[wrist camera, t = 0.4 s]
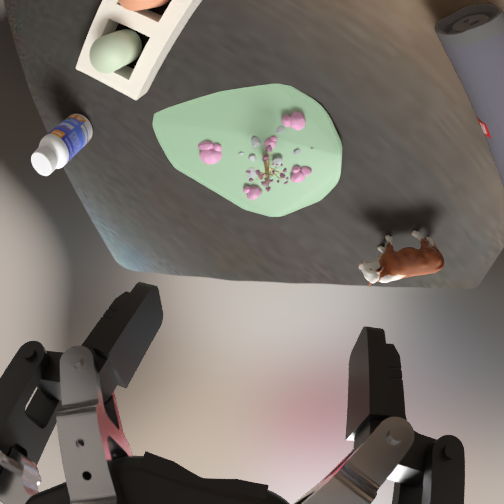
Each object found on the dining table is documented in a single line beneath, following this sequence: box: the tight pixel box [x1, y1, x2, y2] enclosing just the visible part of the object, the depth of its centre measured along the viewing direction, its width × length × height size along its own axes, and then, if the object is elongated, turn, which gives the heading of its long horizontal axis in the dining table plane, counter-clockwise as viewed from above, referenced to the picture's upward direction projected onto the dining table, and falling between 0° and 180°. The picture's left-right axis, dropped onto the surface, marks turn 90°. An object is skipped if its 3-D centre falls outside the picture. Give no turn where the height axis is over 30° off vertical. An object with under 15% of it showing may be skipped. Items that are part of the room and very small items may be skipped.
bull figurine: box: [359, 230, 444, 287], centre depth 41 cm, size 4×13×8 cm, turn 106°
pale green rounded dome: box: [89, 29, 142, 74], centre depth 25 cm, size 5×5×4 cm
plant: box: [153, 84, 342, 217], centre depth 35 cm, size 25×21×9 cm
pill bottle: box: [31, 114, 93, 176], centre depth 34 cm, size 5×5×10 cm
